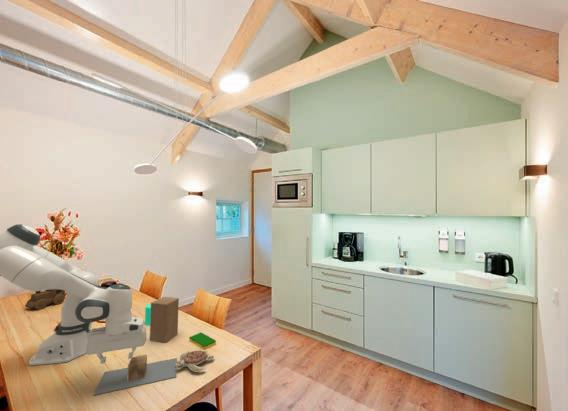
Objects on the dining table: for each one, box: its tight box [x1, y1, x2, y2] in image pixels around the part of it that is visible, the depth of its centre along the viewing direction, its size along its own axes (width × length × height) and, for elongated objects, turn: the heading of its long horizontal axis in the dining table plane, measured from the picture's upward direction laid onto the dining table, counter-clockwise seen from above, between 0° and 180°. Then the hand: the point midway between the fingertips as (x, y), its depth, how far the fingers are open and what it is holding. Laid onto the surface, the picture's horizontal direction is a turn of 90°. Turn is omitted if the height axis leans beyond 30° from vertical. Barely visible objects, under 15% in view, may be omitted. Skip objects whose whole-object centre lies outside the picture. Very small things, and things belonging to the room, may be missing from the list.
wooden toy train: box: [24, 289, 66, 311], centre depth 175 cm, size 20×11×17 cm, turn 161°
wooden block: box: [149, 296, 180, 344], centre depth 133 cm, size 10×10×20 cm
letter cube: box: [127, 354, 148, 381], centre depth 101 cm, size 6×6×6 cm
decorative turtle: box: [175, 350, 215, 373], centre depth 109 cm, size 18×17×5 cm
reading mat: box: [93, 357, 178, 397], centre depth 101 cm, size 28×14×1 cm, turn 113°
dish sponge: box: [188, 332, 217, 351], centre depth 128 cm, size 7×14×2 cm, turn 52°
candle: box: [144, 304, 151, 326], centre depth 150 cm, size 6×6×12 cm
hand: (117, 360), depth 98 cm, fingers open, 8 cm apart
